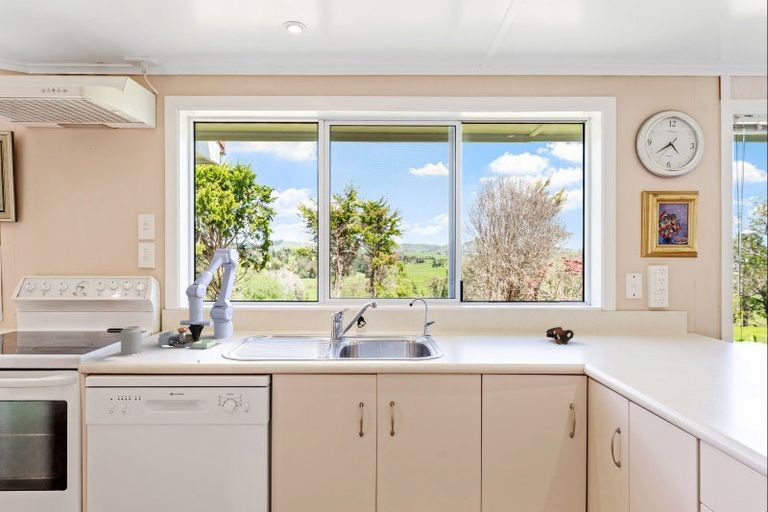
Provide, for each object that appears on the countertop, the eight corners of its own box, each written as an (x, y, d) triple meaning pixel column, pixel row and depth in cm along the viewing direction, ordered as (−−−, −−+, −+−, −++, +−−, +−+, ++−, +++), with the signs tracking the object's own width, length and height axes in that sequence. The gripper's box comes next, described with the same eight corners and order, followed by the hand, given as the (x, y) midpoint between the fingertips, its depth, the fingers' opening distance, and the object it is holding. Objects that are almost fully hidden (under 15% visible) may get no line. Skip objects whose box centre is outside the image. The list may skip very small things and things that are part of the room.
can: (125, 359, 178) (125, 329, 178) (117, 356, 183) (117, 327, 183) (145, 355, 184) (144, 326, 184) (136, 353, 189) (136, 324, 189)
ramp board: (173, 344, 206) (173, 338, 206) (221, 345, 202) (221, 339, 202) (155, 350, 194) (155, 343, 194) (206, 352, 190) (206, 345, 190)
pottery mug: (551, 345, 202) (545, 328, 206) (549, 350, 210) (543, 334, 214) (578, 339, 200) (571, 322, 204) (575, 345, 209) (569, 328, 213)
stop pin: (181, 345, 197) (180, 327, 197) (189, 345, 197) (188, 327, 197) (175, 347, 194) (175, 329, 194) (183, 347, 193) (183, 329, 193)
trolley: (173, 341, 205) (173, 330, 205) (188, 342, 204) (187, 330, 204) (158, 346, 195) (158, 334, 195) (173, 347, 194) (173, 335, 194)
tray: (201, 344, 199) (201, 339, 199) (215, 345, 198) (215, 340, 198) (192, 348, 192) (192, 343, 192) (206, 348, 191) (206, 343, 191)
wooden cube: (187, 342, 204) (187, 333, 204) (196, 342, 203) (195, 334, 203) (182, 344, 200) (182, 335, 200) (190, 344, 199) (190, 335, 199)
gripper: (175, 312, 198) (176, 342, 198) (206, 312, 196) (206, 343, 196) (185, 310, 205) (185, 339, 205) (214, 310, 203) (215, 340, 203)
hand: (196, 341), depth 201 cm, fingers closed
